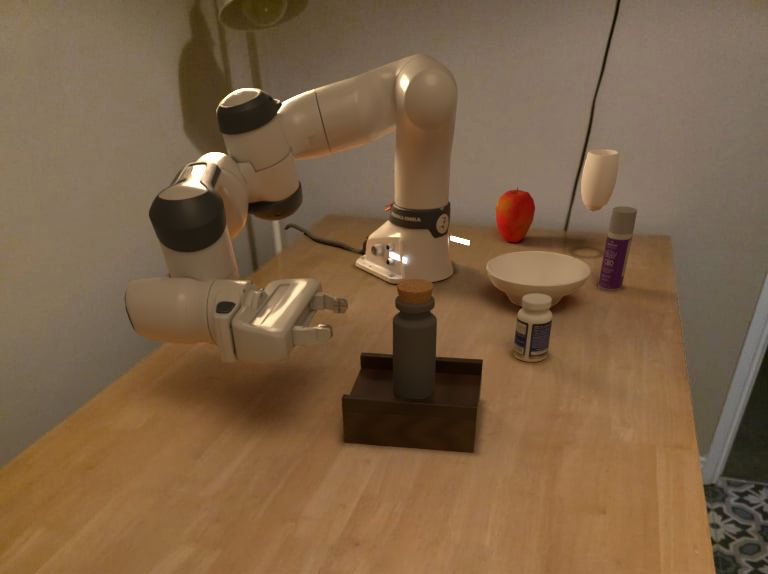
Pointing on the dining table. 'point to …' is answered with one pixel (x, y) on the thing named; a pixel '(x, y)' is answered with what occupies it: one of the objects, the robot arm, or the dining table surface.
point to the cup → (599, 178)
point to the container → (617, 248)
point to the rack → (414, 406)
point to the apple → (514, 214)
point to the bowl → (537, 274)
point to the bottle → (414, 340)
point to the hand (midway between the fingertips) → (339, 319)
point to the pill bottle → (533, 328)
